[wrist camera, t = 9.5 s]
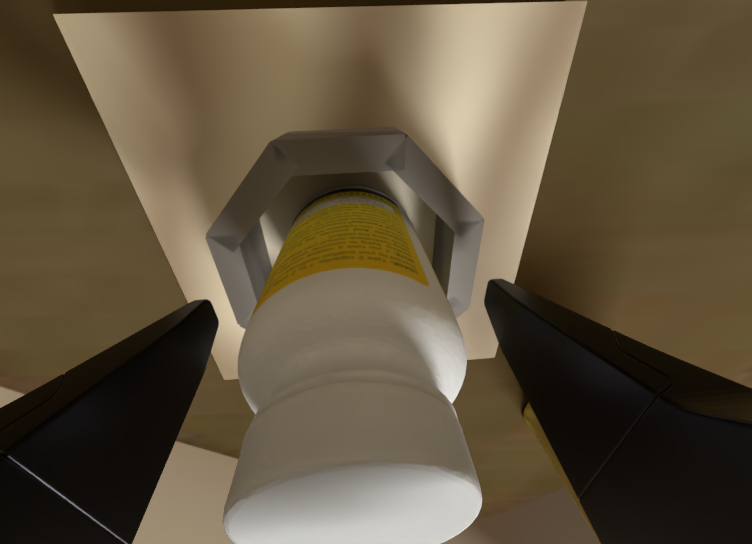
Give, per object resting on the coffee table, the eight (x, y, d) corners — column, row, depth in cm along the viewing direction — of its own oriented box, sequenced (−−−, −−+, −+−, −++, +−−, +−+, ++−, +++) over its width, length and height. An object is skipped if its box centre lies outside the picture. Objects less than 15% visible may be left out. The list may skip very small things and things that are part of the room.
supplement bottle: (263, 236, 12) (74, 539, 4) (363, 153, 11) (406, 346, 2) (346, 312, 15) (340, 596, 6) (436, 252, 13) (581, 516, 5)
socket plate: (567, 9, 10) (661, -31, 7) (488, 345, 18) (515, 393, 15) (80, 22, 9) (-52, -16, 6) (230, 366, 17) (205, 421, 14)
